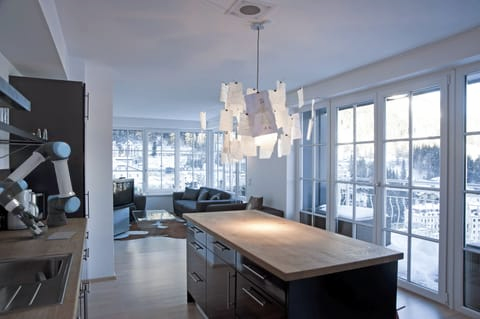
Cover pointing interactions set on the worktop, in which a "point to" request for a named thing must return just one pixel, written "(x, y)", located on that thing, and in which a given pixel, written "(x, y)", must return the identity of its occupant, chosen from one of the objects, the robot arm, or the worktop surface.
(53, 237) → the rubber mat
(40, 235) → the mortar and pestle
